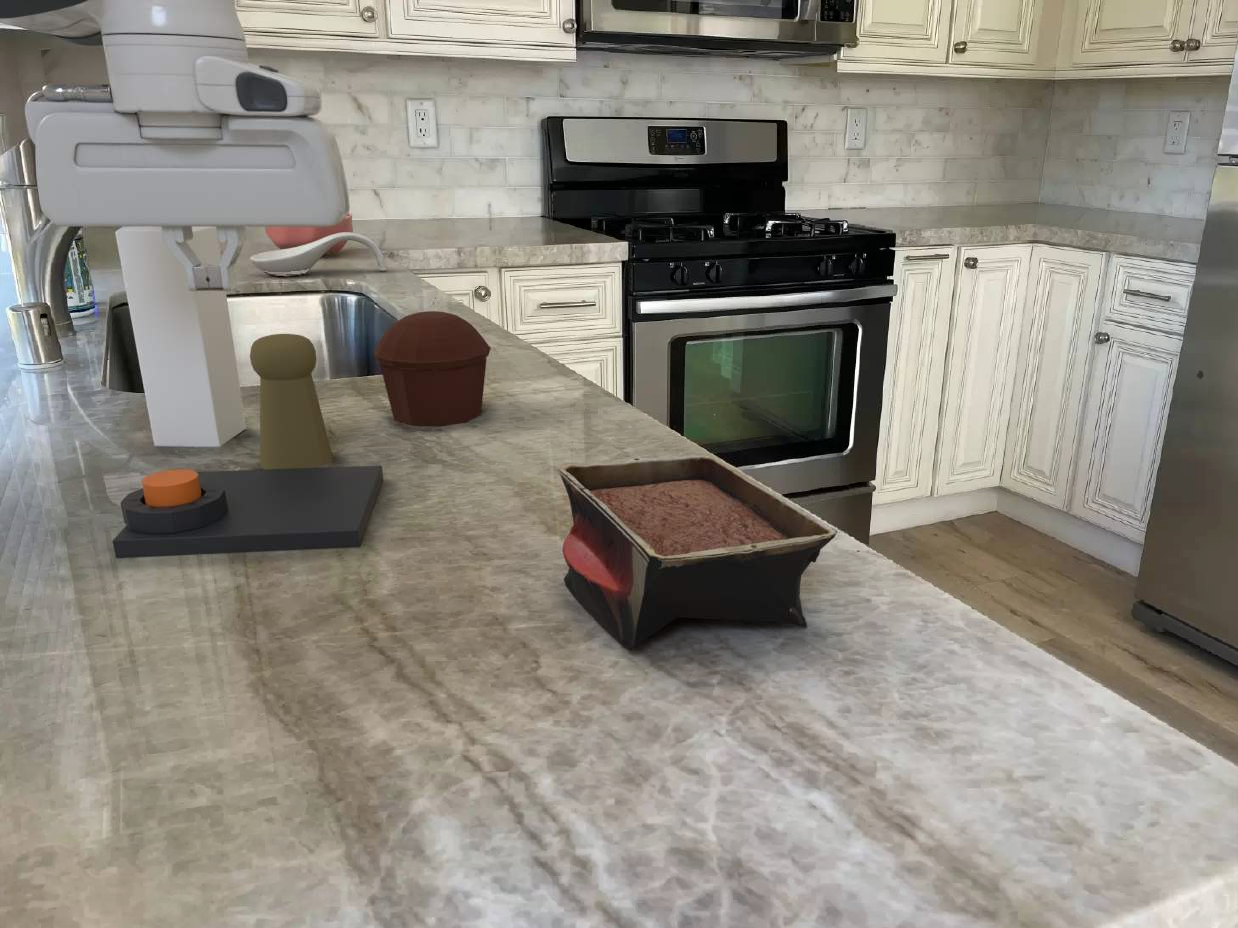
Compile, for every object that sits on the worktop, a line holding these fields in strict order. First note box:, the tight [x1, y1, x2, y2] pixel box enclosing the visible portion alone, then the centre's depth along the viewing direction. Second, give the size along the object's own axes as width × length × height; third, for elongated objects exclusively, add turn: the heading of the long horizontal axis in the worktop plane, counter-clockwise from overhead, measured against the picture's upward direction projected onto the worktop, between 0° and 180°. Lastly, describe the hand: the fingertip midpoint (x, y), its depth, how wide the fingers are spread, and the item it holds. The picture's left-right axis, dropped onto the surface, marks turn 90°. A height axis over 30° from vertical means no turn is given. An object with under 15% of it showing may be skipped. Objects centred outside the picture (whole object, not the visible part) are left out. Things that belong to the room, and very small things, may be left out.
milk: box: [115, 226, 247, 448], centre depth 90 cm, size 6×6×22 cm
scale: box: [111, 465, 384, 559], centre depth 76 cm, size 16×14×3 cm
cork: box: [249, 333, 334, 469], centre depth 86 cm, size 6×6×11 cm
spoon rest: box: [249, 232, 387, 276], centre depth 188 cm, size 24×12×7 cm, turn 111°
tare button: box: [141, 468, 202, 507], centre depth 71 cm, size 4×4×2 cm
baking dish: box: [557, 454, 838, 651], centre depth 62 cm, size 14×18×10 cm
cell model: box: [264, 212, 354, 256], centre depth 210 cm, size 17×20×11 cm
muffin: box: [372, 310, 492, 427], centre depth 101 cm, size 12×11×10 cm
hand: (213, 290), depth 74 cm, fingers closed
